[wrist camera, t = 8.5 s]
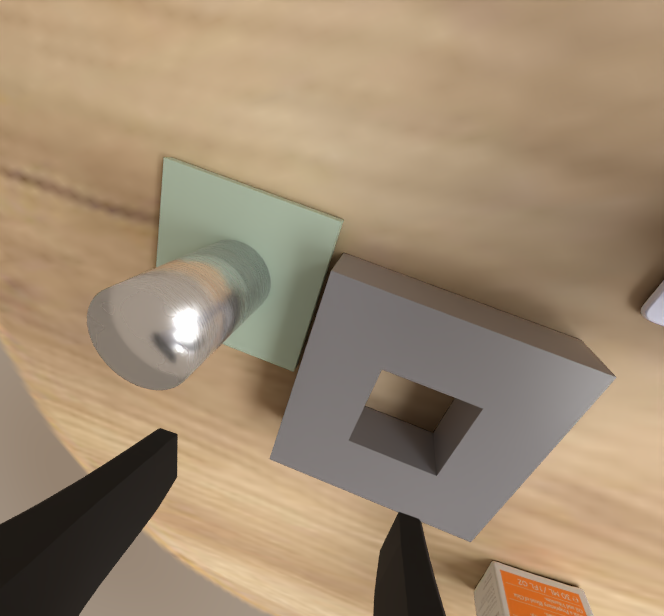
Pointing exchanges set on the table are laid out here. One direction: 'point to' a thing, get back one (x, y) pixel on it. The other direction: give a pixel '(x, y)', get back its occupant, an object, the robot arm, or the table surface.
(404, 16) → the table surface
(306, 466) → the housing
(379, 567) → the robot arm
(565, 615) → the skincare box
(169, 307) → the plug
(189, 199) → the mat
